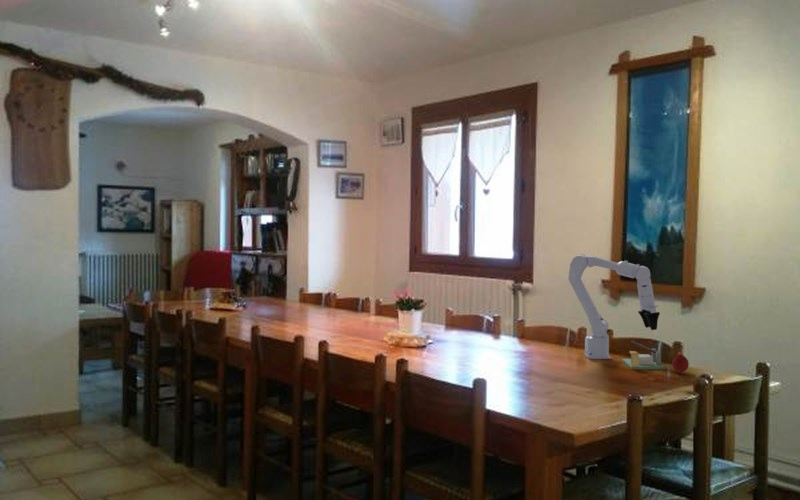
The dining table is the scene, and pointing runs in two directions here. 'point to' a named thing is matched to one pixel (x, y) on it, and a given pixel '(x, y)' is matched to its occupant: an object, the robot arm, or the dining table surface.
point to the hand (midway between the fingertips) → (651, 328)
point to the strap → (643, 347)
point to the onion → (680, 363)
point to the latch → (634, 359)
